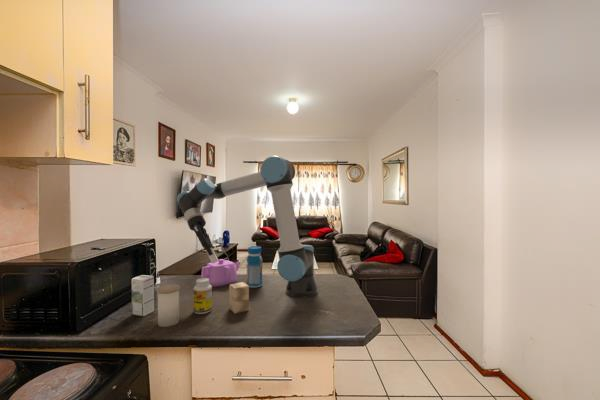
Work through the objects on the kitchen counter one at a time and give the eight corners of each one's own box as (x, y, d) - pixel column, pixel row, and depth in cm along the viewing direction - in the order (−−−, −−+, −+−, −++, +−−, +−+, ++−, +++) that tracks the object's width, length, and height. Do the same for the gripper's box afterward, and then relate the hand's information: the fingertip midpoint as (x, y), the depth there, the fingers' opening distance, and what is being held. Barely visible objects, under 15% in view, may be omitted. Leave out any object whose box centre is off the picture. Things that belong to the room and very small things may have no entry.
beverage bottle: (251, 289, 138) (251, 249, 137) (243, 285, 144) (243, 247, 144) (265, 285, 143) (265, 247, 143) (256, 281, 150) (257, 245, 149)
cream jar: (183, 319, 104) (183, 284, 104) (170, 328, 97) (170, 291, 97) (166, 317, 106) (166, 283, 106) (152, 325, 99) (152, 289, 99)
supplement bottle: (189, 312, 110) (189, 280, 110) (203, 306, 116) (203, 276, 116) (202, 316, 107) (201, 283, 106) (215, 309, 113) (215, 278, 113)
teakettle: (199, 286, 141) (199, 262, 141) (211, 277, 158) (211, 255, 158) (231, 287, 140) (232, 263, 140) (241, 277, 157) (241, 256, 157)
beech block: (243, 305, 118) (243, 281, 118) (248, 310, 113) (248, 285, 113) (229, 308, 114) (229, 284, 114) (234, 313, 109) (234, 288, 109)
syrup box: (154, 311, 111) (154, 275, 111) (142, 317, 106) (142, 279, 106) (143, 309, 113) (143, 274, 113) (131, 315, 107) (130, 278, 107)
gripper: (193, 228, 135) (212, 269, 125) (181, 218, 123) (201, 263, 114) (207, 220, 136) (227, 260, 127) (196, 210, 125) (217, 253, 115)
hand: (215, 261), depth 120 cm, fingers closed
